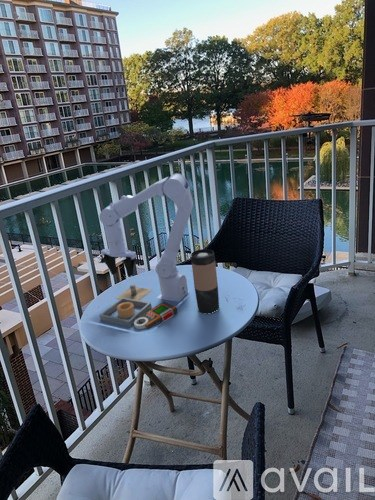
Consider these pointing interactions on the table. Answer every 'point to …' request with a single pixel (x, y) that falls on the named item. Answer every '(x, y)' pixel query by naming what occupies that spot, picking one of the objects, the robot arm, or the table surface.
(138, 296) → the tan square plate
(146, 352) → the table surface
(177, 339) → the table surface
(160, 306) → the electronic device
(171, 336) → the table surface
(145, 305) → the tray
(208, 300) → the travel mug
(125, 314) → the ring
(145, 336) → the table surface
